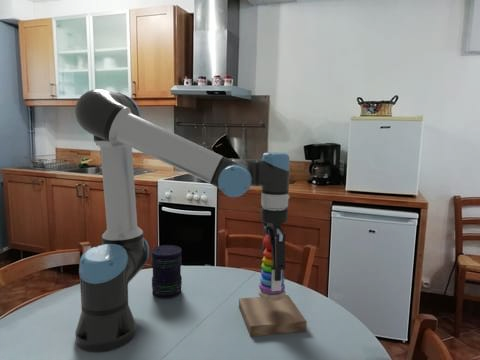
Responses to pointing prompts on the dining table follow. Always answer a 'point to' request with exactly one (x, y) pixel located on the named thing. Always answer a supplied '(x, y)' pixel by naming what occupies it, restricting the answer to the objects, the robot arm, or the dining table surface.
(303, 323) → the walnut base
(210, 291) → the dining table surface
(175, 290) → the storage jar
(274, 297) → the stacking toy
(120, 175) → the robot arm
